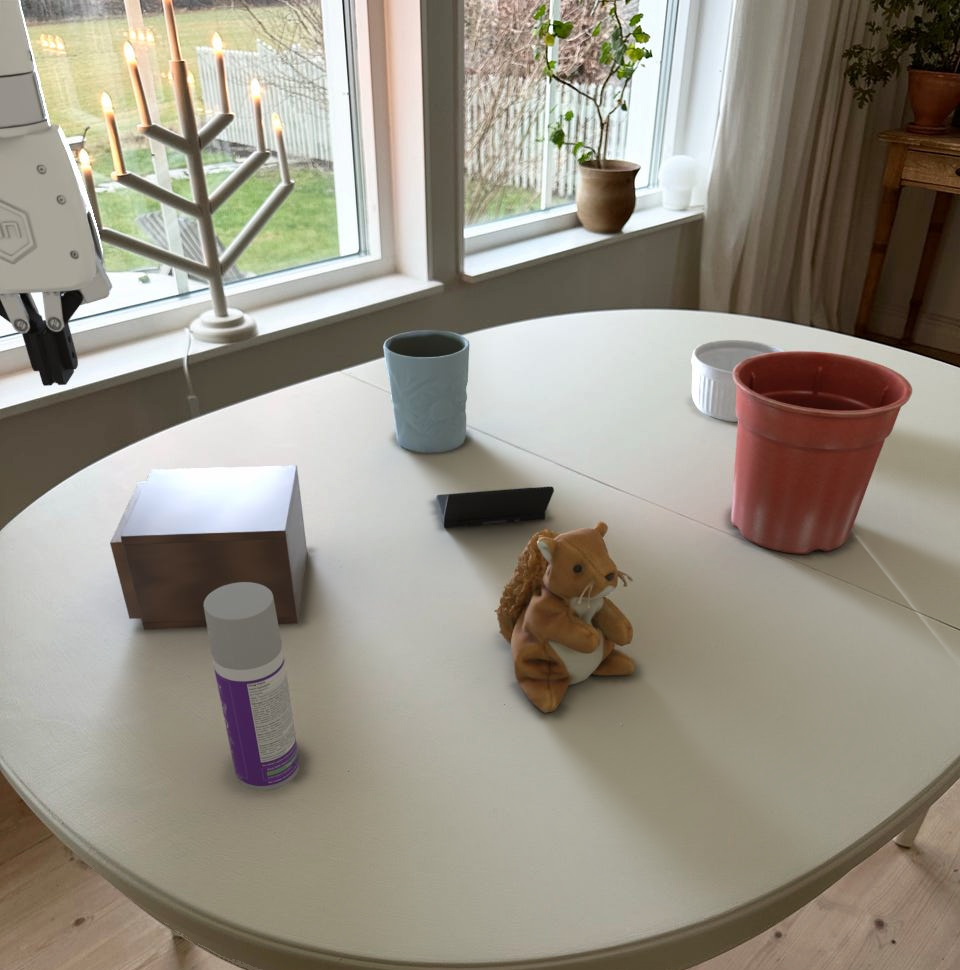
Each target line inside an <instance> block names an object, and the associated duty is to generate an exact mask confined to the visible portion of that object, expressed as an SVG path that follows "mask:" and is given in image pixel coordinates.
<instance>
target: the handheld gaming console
mask: <svg viewBox="0 0 960 970" xmlns="http://www.w3.org/2000/svg"><path fill="white" fill-rule="evenodd" d="M554 493H555V489H554V487H553V486H536V487H520V488H507V489H493V490H480V491H467V492H457V493H456V492H454V493H443V494H437V495H436V504H437V507H438V511H439V515H440V518H441V521H442V524H443V528H444V529H451V528H459V527H462V528H463V527H473V526H483V525H489V524H499V523H506V524H507V523H519V522H531V521H532V522H533V521H543V520H545V519H546V511H547V509H548V507H549V504H550V502H551V499H552V497H553V494H554Z"/></svg>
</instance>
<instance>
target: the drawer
mask: <svg viewBox="0 0 960 970" xmlns="http://www.w3.org/2000/svg"><path fill="white" fill-rule="evenodd" d="M145 482H146V481H138V482H137V484H136V486H135V488H134V491H133V492H132V494H131V497H130V499H129V500H128V504H127V505H126V508H125V510H124V512H123V514H122V516H121V517H120V520H119V523H118V524H117V527H116V530H115V531H114V534H113V536H112V537H111V539H110V542H109V543H110V549H111V552H112V557H113V560H114V564H115V567H116V572H117V577H118V579H119V580H118V581H119V583H120V587H121V588H120V589H121V591H122V595H123V599H124V602H125V603H124V604H125V607H126V610H127V614H128V615H127V616H128V618H129V619H130V620H132V619H134V620H135V619H136V620H137V619H141V616H140V612H139V608H138V604H137V600H136V596H135V592H134V588H133V584H132V580H131V576H130V572H129V568H128V564H127V560H126V556H125V552H124V548H123V544H122V540H121V535H122V532H123V530H124V528H125V526H126V524H127V521H128V519H129V517H130V515H131V513H132V510H133V508H134V506H135V504H136V502H137V499H138V497H139V495H140V493H141V491H142V488H143V486H144V484H145Z"/></svg>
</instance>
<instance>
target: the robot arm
mask: <svg viewBox="0 0 960 970" xmlns="http://www.w3.org/2000/svg"><path fill="white" fill-rule="evenodd" d="M22 9H23V8H22V5H21V0H0V317H1V318H3V319H4V320H6V321H7V322H9V323H10V324H11V327H12V328H13V329H14V331H16V332H17V333H19V334H21V335H22V338H23V342H24V345H25V350H26V352H27V356H28V358H29V363H30V366H31V369H32V371H33V372H38V373H39V377H40V380H41V383H42V385H43V387H47V386H50V387H51V386H52V385H54V384H57V385H58V386H66V385H67V384H68V383H69V381H70V379H71V377H72V376H73V375H74V373H75V370H77V368H78V367H79V359H78V355H77V351H76V347H75V343H74V340H73V336H72V332H71V328H70V324H69V321H70V320H71V318H72V317H73V316H74V314H75V313H76V311H77V310H78V308H79V307H80V306H83V305H86V304H91V303H95V302H97V301H100V300H101V301H102V300H104V299H106V298H108V297H109V295H110V294H111V293H112V291H113V284H112V282H111V279H110V278H109V276H108V273H107V271H106V269H105V267H104V262H105V261H104V251H103V246H102V241H101V238H100V234H99V230H98V227H97V223H96V220H95V217H94V213H93V209H92V206H91V203H90V200H89V197H88V194H87V191H86V187H85V184H84V182H83V180H82V176H81V173H80V170H79V169H78V166H77V163H76V161H75V157H74V155H73V153H72V150H71V148H70V145H69V143H68V141H67V138H66V136H65V134H64V132H63V130H62V128H61V125H58V124H52V123H50V119H49V114H48V111H47V107H46V106H47V105H46V103H45V98H44V94H43V90H42V87H41V81H40V77H39V73H38V71H37V65H36V62H35V61H36V60H35V57H34V53H33V49H32V46H31V45H32V44H31V41H30V37H29V33H28V29H27V25H26V21H25V16H24V13H23V10H22ZM32 293H33V294H34V293H35V294H37V293H41V294H42V301H43V309H44V319H43V316H42V315H41V314H40V311H39V309H38V307H37V305H36V302H35V300H34V297H33V296H32Z"/></svg>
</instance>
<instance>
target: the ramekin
mask: <svg viewBox="0 0 960 970" xmlns="http://www.w3.org/2000/svg"><path fill="white" fill-rule="evenodd" d="M783 351H787V350H785V349H784V348H781V347H778V346H775V345H772V344H769V343H764V342H759V341H755V340H754V341H753V340H747V339H721V340H720V339H718V340H713V341H708V342H705V343H701V344H699V345H698V346H696V348H694V350H693V352H692V356H691V365H692V377H691V397H692V401H693V402H694V404H695V406H696V407H697V409H698V410H699V411H700V412H701V413H703V414H704V415H706V416H708V417H711V418H714V419H716V420H720V421H725V422H731V423H738V418H737V416H736V412H735V409H736V393H737V386H736V385H735V383H734V380H733V370H734V368H735V367H736V365H737V364H739V363H740V362H741V361H743V360H745V359H747V358H750V357H753V356H757V355H761V354H767V353H773V352H783Z"/></svg>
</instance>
